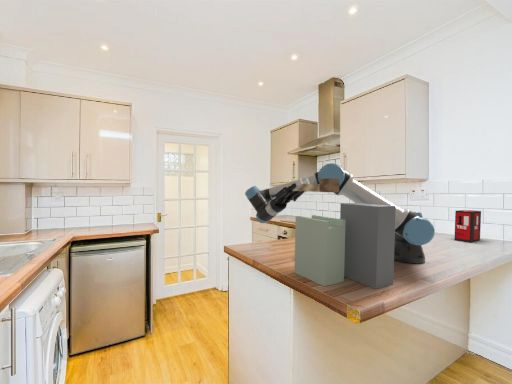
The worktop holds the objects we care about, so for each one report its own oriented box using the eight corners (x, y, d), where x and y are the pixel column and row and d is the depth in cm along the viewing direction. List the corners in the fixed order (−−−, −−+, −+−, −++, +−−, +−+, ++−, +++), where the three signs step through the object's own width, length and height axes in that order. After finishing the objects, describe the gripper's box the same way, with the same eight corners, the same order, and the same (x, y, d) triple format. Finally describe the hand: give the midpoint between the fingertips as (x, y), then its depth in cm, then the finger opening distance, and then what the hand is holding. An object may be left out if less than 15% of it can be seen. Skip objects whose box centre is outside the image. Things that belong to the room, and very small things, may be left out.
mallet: (286, 190, 113) (287, 179, 113) (295, 190, 116) (295, 179, 116) (329, 192, 92) (329, 178, 92) (339, 192, 94) (339, 178, 94)
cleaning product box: (463, 238, 181) (464, 209, 181) (479, 240, 174) (481, 211, 173) (454, 240, 172) (455, 210, 171) (471, 243, 164) (472, 212, 164)
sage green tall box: (294, 272, 102) (295, 216, 101) (313, 268, 107) (314, 215, 106) (324, 286, 88) (325, 221, 88) (343, 281, 93) (345, 219, 93)
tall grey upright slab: (338, 274, 100) (340, 203, 100) (355, 270, 106) (357, 202, 105) (376, 289, 87) (378, 206, 86) (393, 283, 92) (395, 205, 91)
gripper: (291, 211, 127) (321, 189, 109) (264, 213, 119) (292, 188, 101) (287, 198, 130) (316, 174, 113) (260, 198, 122) (286, 172, 104)
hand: (304, 181), depth 107 cm, fingers closed on mallet, 3 cm apart
